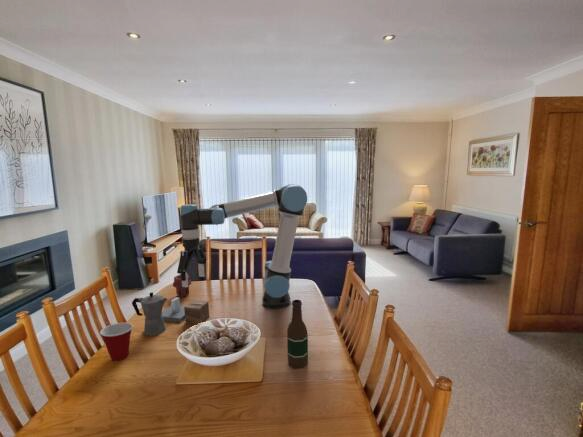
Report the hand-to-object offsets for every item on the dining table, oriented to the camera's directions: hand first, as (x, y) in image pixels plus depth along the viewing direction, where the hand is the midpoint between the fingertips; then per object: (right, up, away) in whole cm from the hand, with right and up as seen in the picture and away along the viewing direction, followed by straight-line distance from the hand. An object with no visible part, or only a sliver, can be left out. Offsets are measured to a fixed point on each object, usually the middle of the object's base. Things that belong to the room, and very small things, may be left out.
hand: (193, 281), depth 138 cm
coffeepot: (-16, -21, -7) cm, 27 cm away
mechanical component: (-17, -15, +30) cm, 38 cm away
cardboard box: (+1, -19, +2) cm, 19 cm away
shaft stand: (-11, -18, +7) cm, 22 cm away
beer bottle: (+49, -23, -31) cm, 62 cm away
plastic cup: (-20, -24, -26) cm, 40 cm away
